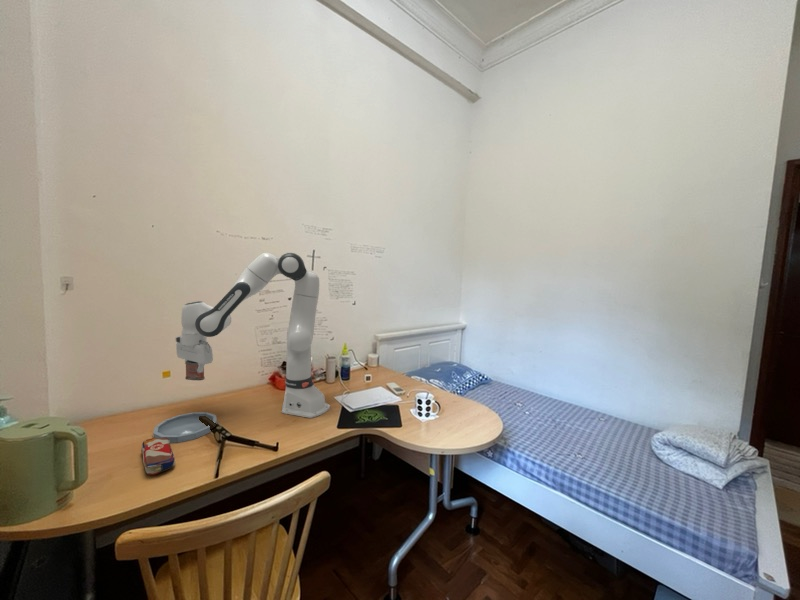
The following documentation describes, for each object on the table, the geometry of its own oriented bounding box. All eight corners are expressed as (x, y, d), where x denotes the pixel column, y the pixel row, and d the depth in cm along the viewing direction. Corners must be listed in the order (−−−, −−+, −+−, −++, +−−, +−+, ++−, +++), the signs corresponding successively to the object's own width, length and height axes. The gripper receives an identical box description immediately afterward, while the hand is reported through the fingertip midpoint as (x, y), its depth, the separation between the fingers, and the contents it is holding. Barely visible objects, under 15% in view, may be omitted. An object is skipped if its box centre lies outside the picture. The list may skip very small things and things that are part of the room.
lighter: (206, 378, 134) (206, 355, 133) (200, 380, 130) (200, 357, 129) (189, 377, 134) (189, 354, 134) (183, 379, 131) (182, 356, 130)
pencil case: (182, 442, 111) (182, 429, 110) (173, 474, 94) (172, 458, 93) (143, 449, 106) (143, 436, 105) (126, 484, 88) (125, 468, 88)
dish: (227, 424, 125) (227, 419, 124) (173, 448, 107) (173, 442, 106) (197, 413, 133) (197, 408, 133) (142, 433, 115) (142, 428, 115)
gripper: (216, 341, 129) (217, 372, 130) (188, 335, 138) (189, 365, 139) (201, 343, 124) (202, 377, 125) (172, 337, 133) (173, 368, 134)
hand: (194, 370), depth 132 cm, fingers closed on lighter, 6 cm apart
